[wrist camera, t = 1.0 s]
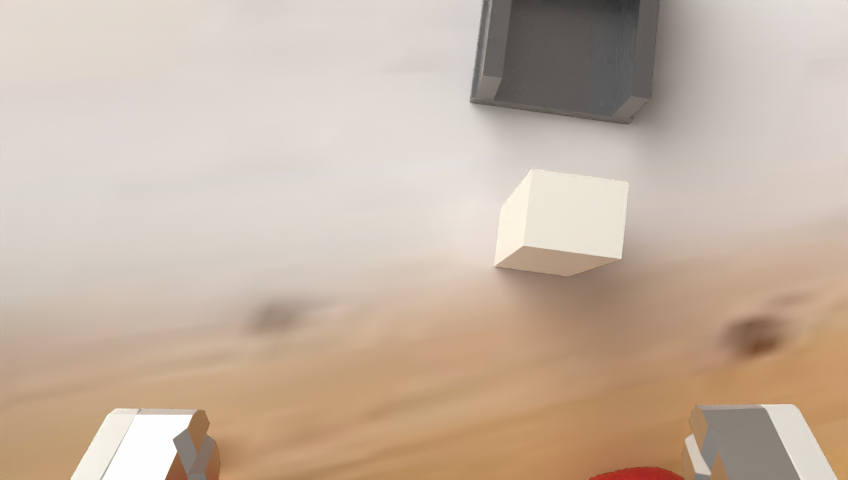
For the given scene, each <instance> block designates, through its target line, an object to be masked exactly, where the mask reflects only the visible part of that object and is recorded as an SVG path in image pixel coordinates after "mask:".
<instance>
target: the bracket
mask: <svg viewBox="0 0 848 480" xmlns="http://www.w3.org/2000/svg"><path fill="white" fill-rule="evenodd" d="M658 9H659V0H483V4H482V12H481V20H480V27H479V35H478V43H477V51H476V58H475V66H474V74H473V81H472V89H471V97H470V102H472V103H479V104H486V105H493V106H501V107H508V108H515V109H522V110H529V111H536V112H543V113H551V114H558V115H565V116H572V117H579V118H586V119H593V120H601V121H608V122H615V123H622V124H629V123H630V122H631V121H632V120H633V115H634V114H635V113H636V112H637V111H638V110H639V109H640V108H641V107H642V106H643V105H644V104H645V103H646V102H647V101H649V100H650V97H651V86H652V75H653V64H654V53H655V42H656V31H657V20H658Z"/></svg>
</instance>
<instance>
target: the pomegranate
mask: <svg viewBox="0 0 848 480" xmlns="http://www.w3.org/2000/svg"><path fill="white" fill-rule="evenodd" d="M589 480H684V478H683V477H681V476H679V475H677V474H675V473H673V472H671V471H668V470H665V469H662V468H658V467H655V468H653V467H637V468H630V469H623V470H618V471H615V472H610V473H605V474H602V475H598V476H596V477H592V478H590V479H589Z"/></svg>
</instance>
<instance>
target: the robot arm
mask: <svg viewBox="0 0 848 480" xmlns="http://www.w3.org/2000/svg"><path fill="white" fill-rule="evenodd" d="M689 423H690V426H691V429H692V432H693V434H691V435H690V436H689V437H688V438H686V439H685V441H684V446H683V451H682V470H683V476H684V480H838V478H837V476H836V475H835V473H834V471H833V469H832V468H831V466H830V464H829V462H828V460H827V459H826V457H825V455H824V453H823V451H822V450H821V448H820V446H819V444H818V442H817V441H816V439H815V437H814V435H813V433H812V432H811V430H810V428H809V426H808V424H807V423H806V421H805V419H804V417H803V415H802V414H801V412H800V410H799V409H798V408H797V407H796V406H794V405H793V404H766V405H757V404H743V405H695V407H694V408H693V409H692V411H691V415H690V419H689ZM209 424H210V423H209V420H208V418H207V416H206V413H205V411H204V410H199V409H150V408H144V409H128V408H115V409H114V410H113V411H112V412H110V413H109V414H108V415H107V416H106V418H105V420H104V421H103V423H102V425H101V427H100V428H99V430H98V432H97V434H96V435H95V437H94V439H93V441H92V442H91V444H90V446H89V447H88V449H87V451H86V453H85V454H84V456H83V458H82V460H81V461H80V463H79V465H78V467H77V468H76V470H75V472H74V474H73V475H72V477H71V479H70V480H219V472H220V454H219V449H218V446H217V443H216V441H215V440H214V439H212V438H211V437H210V436H208V435H207V434H206V432H207V430H208V427H209Z"/></svg>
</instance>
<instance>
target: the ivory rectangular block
mask: <svg viewBox="0 0 848 480" xmlns="http://www.w3.org/2000/svg"><path fill="white" fill-rule="evenodd" d="M628 186H629V182H626V181H618V180H611V179H604V178H597V177H590V176H582V175H575V174H568V173H561V172H554V171H546V170H539V169H531V171H530V172H529V173H528V174H527V176H526V177H525V178H524V179H523V181H522V182H521V183H520V185H519V186H518V187H517V188H516V190H515V191H514V192H513V193H512V195H511V196H510V197H509V198H508V200H507V201H506V202H505V203H504V205H503V206H502V207H501V212H500V221H499V229H498V237H497V246H496V254H495V262H494V267H502V268H509V269H516V270H524V271H531V272H538V273H546V274H553V275H560V276H567V277H569V276H572V275H575V274H578V273H581V272H584V271H587V270H590V269H593V268H596V267H599V266H602V265H605V264H608V263H611V262H614V261H617V260H620V259H622V250H623V240H624V229H625V218H626V208H627V197H628Z"/></svg>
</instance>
